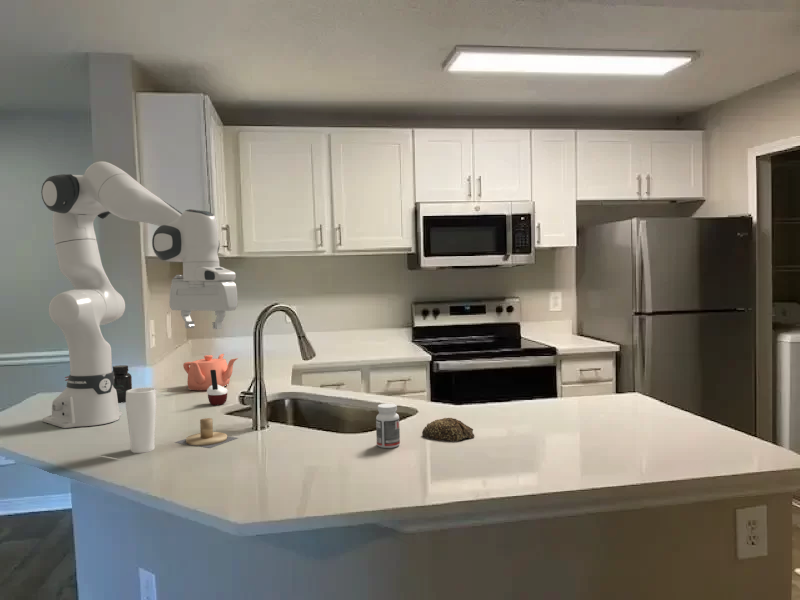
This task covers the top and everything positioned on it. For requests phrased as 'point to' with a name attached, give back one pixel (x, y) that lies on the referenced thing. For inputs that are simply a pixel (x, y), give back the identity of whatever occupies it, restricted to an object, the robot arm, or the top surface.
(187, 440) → the lid
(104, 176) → the robot arm
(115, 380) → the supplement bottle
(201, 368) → the pot
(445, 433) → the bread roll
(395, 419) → the pill bottle
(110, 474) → the top surface
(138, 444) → the drinking glass
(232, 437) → the mat
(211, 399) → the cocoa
